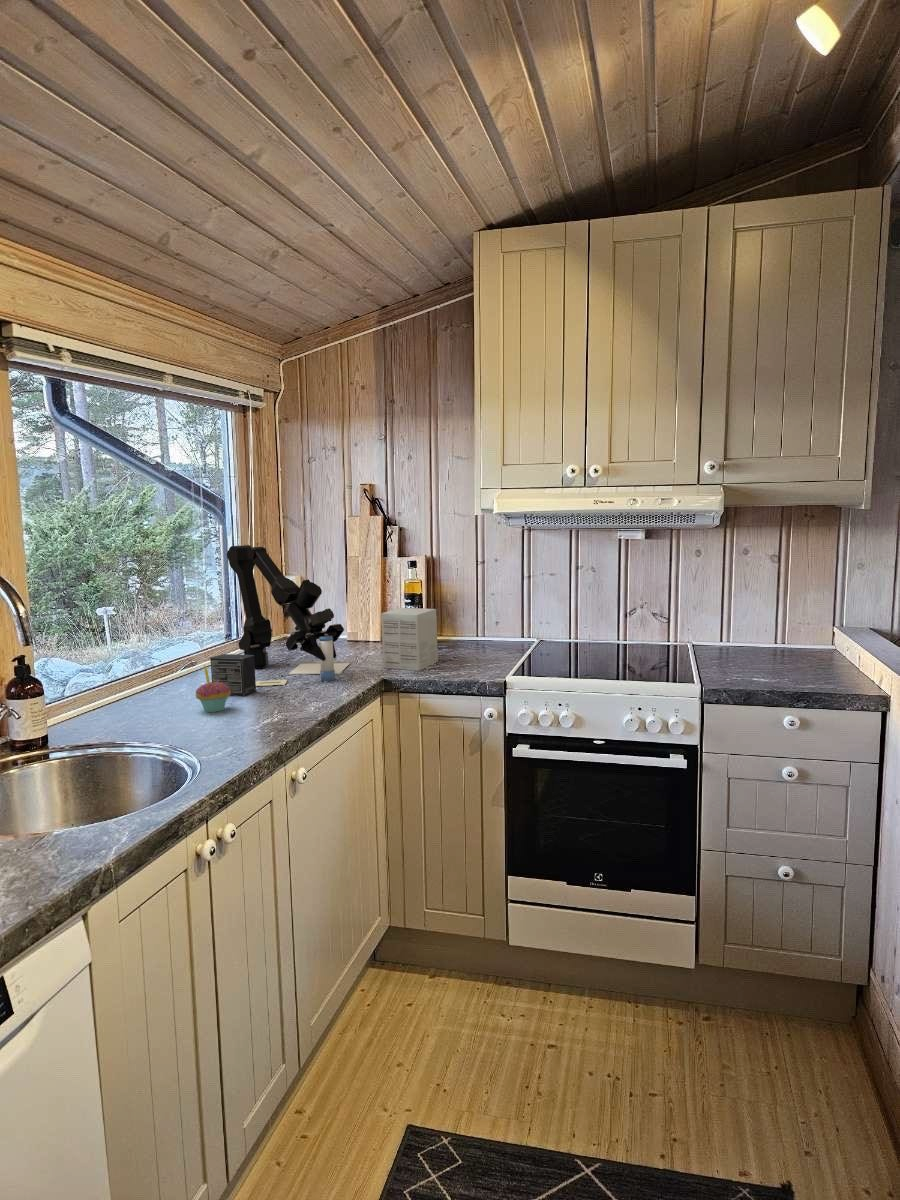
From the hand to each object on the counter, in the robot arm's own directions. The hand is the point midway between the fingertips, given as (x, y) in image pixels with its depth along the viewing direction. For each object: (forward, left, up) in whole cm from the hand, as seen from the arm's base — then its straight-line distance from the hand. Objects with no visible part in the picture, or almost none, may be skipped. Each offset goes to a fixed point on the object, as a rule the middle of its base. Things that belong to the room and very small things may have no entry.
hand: (330, 658), depth 227 cm
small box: (-24, -13, -7) cm, 28 cm away
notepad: (-7, +17, -7) cm, 19 cm away
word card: (-17, -3, -7) cm, 19 cm away
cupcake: (-23, -31, -7) cm, 39 cm away
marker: (-1, +1, -7) cm, 7 cm away
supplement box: (+21, +21, -7) cm, 30 cm away
